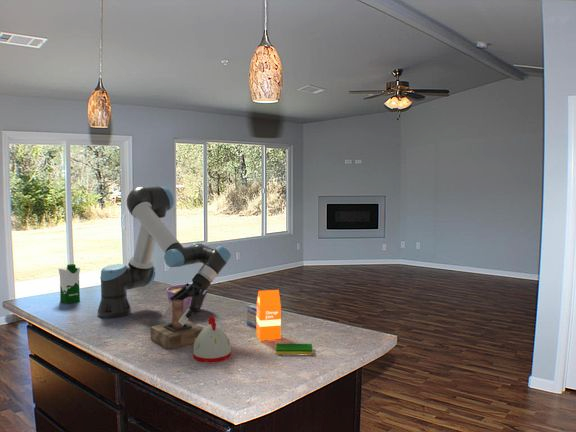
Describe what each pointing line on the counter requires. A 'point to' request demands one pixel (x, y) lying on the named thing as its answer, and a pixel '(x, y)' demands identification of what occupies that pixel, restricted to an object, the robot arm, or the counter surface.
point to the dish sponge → (294, 349)
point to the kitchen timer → (211, 344)
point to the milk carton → (69, 284)
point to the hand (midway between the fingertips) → (172, 319)
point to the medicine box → (252, 315)
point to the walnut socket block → (175, 334)
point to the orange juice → (268, 315)
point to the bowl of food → (186, 301)
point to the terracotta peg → (177, 313)
